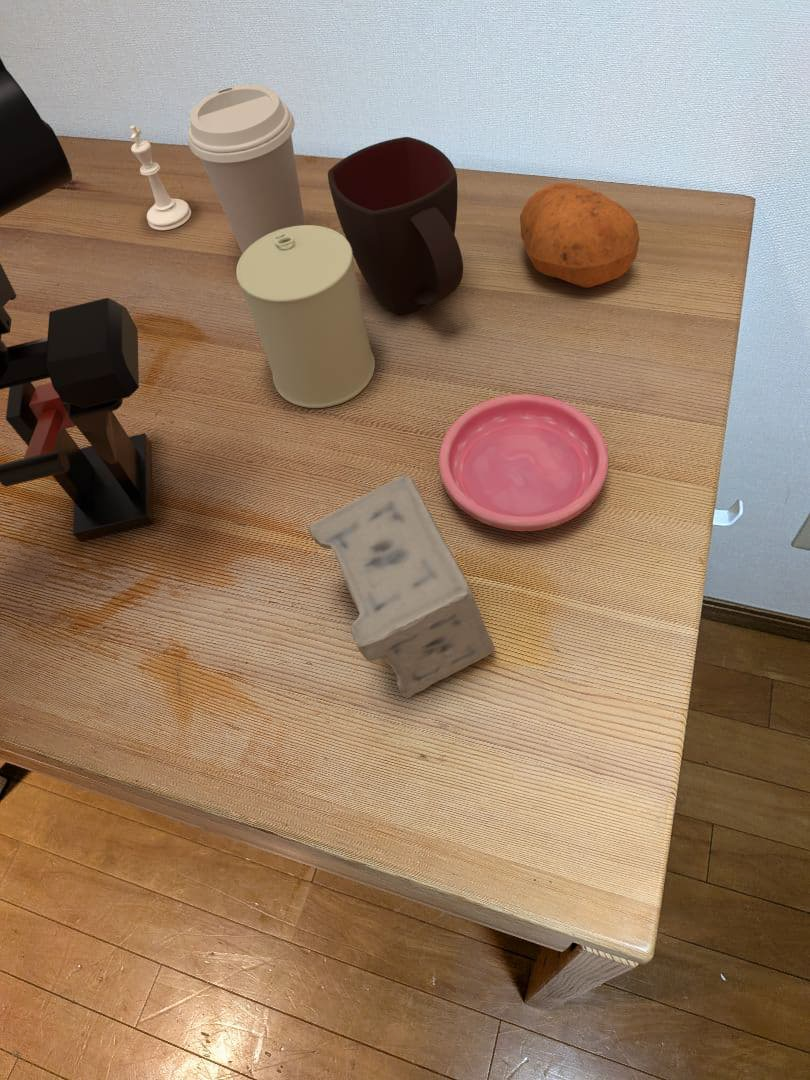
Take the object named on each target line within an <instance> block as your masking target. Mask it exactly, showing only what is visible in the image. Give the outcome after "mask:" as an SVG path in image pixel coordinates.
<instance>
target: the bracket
mask: <svg viewBox="0 0 810 1080" xmlns="http://www.w3.org/2000/svg"><path fill="white" fill-rule="evenodd" d="M35 389H36V387H35V386H34V384H33V382H29V383H25V384H21V385H17V386H13V387H9V388H8V395H7V404H6V413H5V420H6V422H8V424H9V425H10V426H11V428H12V429H13V430H14V431H15V432H16V434H17V435H18V436H19V438H21V439H22V441H23V442H24V443H25V445H26V446H27V447H28V446H29V443H30V441H31V438H32V435H33V433H34V430H35V428H36V425H37V423H38V420H37V418H36V417H35V415H34V413H33V411H32V410H31V408H30V406H29V404H30V401H31V399H32V396H33V394H34V392H35ZM63 406H64V407H65V409H66V410H67V411H68V413H69V403H66V402H63ZM110 417H111V423H112V429H113V434H114V440H115V446H116V453H117V462H116V463H115V464H109V463H108V462H107V461H106V460H105V459H103V458H102V457H101V456H100V455H99V454H98V452H97V451H96V450H95V449H94V447H93V446H92V445H91V446H90V445H89V446H86V447H81V448H80V447H79V446H78V444H77V442H76V441H75V440H74V439H73V437H72V436H71V434H70V433H69V432H68V431H67V428H66V429H62V430H59V433H58V436H57V439H56V442H55V445H54V448H53V451H58V450H62V451H63V452H64V453H65V454H66V456H67V458H68V461H69V471H68V472H65V473H61V474H57V475H53V476H52V477H53V479H54V480H55V482H56V483H58V485H59V486H60V487H61V489H62V490H63V491H64V492H65V493H66V494H67V496H68V497H69V498H70V499H71V500H72V501H73V517H72V518H73V522H72V535H73V536H74V537H75V538H76V539H77V541H78V542H84V541H89V540H92V539H93V540H94V539H96V538H101V537H105V536H108V535H113V534H117V533H121V532H124V531H129V530H132V529H133V530H134V529H137V528H140V527H141V528H142V527H145V526H151V525H153V524H154V513H153V512H154V511H153V510H154V509H153V482H152V480H153V478H152V450H151V445H152V444H151V441H150V439H149V437H148V435H147V434H146V433H145V432H143V433H140V434H135V435H132V436H129V435H128V434H127V432H126V431H125V429H124V428H123V426H122V424H121V423H120V421H119V420H118V418H117V416H116V415H115V413H114V411H111V412H110ZM53 451H52V452H53Z"/></svg>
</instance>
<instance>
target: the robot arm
mask: <svg viewBox="0 0 810 1080" xmlns="http://www.w3.org/2000/svg"><path fill="white" fill-rule="evenodd" d="M71 181H73V173H72V169H71V165H70V163H69V160H68V158H67V156H66V153H65V150H64V149H63V147H62V144H61V143H60V141H59V139H58V137H57V135H56V133H55V131H54V129H53V128H52V127H51V125H50V124H49V123H47V122H46V121H45V120H43V118H42V117H41V115H40V114H39V113H38V111H37V109H36V108H35V106H34V104H33V103H32V101H31V99H30V98H29V97H28V95H27V94H26V92H25V91H24V90H23V89H22V87H21V85H20V84H19V83H18V81H16V79H15V78H14V76H13V75H12V74H11V73H10V72H9V70H8V69H7V67H6V65H5V64H4V62H3V60H2V58H1V57H0V218H2V217H4V216H6V215H7V214H10V213H12V212H14V211H15V210H17V209H19V208H21V207H23V206H25V205H28V204H29V203H31V202H33V201H36V200H37V199H39V198H41V197H43V196H45V195H46V194H49V193H51V192H52V191H54V190H56V189H59V188H60V187H62V186H64V185H66V184H68V183H71ZM16 298H17V294H16V292H15V290H14V288H13V286H12V283H11V282H10V279H9V277H8V275H7V273H6V272H5V269H4V267H3V266H2V263H1V262H0V390H4V389H9V387H13V386H17V385H21V384H25V383H29V382H31V383H34V382H38V381H42V380H45V379H50V383H52V385H53V388H54V389H55V391H56V392H57V394H58V395H59V396H60V398H61V399H62V401H63V402H66V403H69V418H70V419H71V420H72V422H73V423H74V424H75V427H76V428H77V429H78V430H79V432H80V433H81V434H82V435H83V436H84V438H85V439H86V441H88V443H89V444H90V445H91V446H93V447H94V449H95V450H96V451H97V452H98V454H99V455H100V456H101V457H102V458H103V459H105V460H106V461H107V462H108V463H109V464H115V463H116V462H117V453H116V446H115V440H114V434H113V429H112V423H111V417H110V412H111V411H112V412H115V411H116V410H118V409H120V408H121V406H122V405H123V401H124V399H128V398H130V397H131V396H132V395H133V394H134V393H135V392H137V390H138V389H139V388H140V379H139V378H140V375H139V373H140V371H139V333H138V332H139V331H138V327H137V325H136V324H135V322H134V320H133V318H132V315H131V314H130V312H129V310H128V308H127V307H126V306H124V305H123V304H121V303H119V302H118V301H116V300H114V299H111V298H109V297H105V298H102V299H101V298H100V299H96V300H93V301H88V302H84V303H80V304H76V305H72V306H67V307H63V308H59V309H56V310H50V311H49V315H48V326H47V327H48V330H47V337H44V338H39V339H35V340H31V341H27V342H22V343H19V344H15V345H10V346H7V345H6V344H5V343H4V341H3V340H2V335H6V334H9V333H10V332H11V328H12V322H13V321H12V317H11V316H10V314H9V313H8V312H7V310H6V309H5V306H6V305H7V304H8V302H9V301H14V300H16Z"/></svg>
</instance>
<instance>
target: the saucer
mask: <svg viewBox="0 0 810 1080" xmlns="http://www.w3.org/2000/svg"><path fill="white" fill-rule="evenodd" d="M438 469H439V474H440V475H439V476H440V479H441V482H442V485H443V487H444V489H445V491H446V493H447V494H448V496H449V497H450V499H451V500H452V501H453V503H454V504H455V505H456V506H457V507H458V508H459V509H460V510H462V511H463V512H464V513H465V514H466V515H468V516H470V517H471V518H473V519H475V520H476V521H478V522H481V523H482V524H484V525H487V526H490V527H493V528H496V529H502V530H507V531H515V532H532V531H541V530H545V529H551V528H554V527H558V526H559V525H562V524H564V523H567V522H568V521H570V520H572V519H575V517H577V516H579V515H580V514H581V513H583V512H584V511H585V510H587V509H588V508H589V507H590V506H591V505H592V503H593V502H594V501H595V500H596V499H597V497H598V496H599V494H600V493H601V491H602V488H603V487H604V485H605V482H606V478H607V475H608V470H609V452H608V446H607V443H606V439H605V438H604V435H603V434H602V431H600V429H599V427H598V425H597V424H595V422H594V421H593V420H592V419H591V418H590V417H589V416H588V415H587V414H586V413H584V412H583V411H581V410H580V409H578V408H577V407H575V406H573V405H571V404H569V403H567V402H566V401H563V400H559V399H557V398H554V397H549V396H546V395H539V394H529V393H517V394H516V393H515V394H508V395H502V396H497V397H494V398H491V399H487V400H485V401H482V402H480V403H477V404H476V405H474V406H473V407H471V408H469V409H468V410H466V411H465V412H464V413H462V415H460V416H459V417H458V418H457V419H456V420H455V421H454V422H453V423H452V425H451V426H450V427H449V428H448V430H447V431H446V433H445V435H444V436H443V439H442V442H441V444H440V448H439V452H438Z"/></svg>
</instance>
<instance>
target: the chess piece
mask: <svg viewBox="0 0 810 1080" xmlns="http://www.w3.org/2000/svg"><path fill="white" fill-rule="evenodd" d="M129 130H130V132H131V136H130V140H131V143H133V144H132V145H131V148H130V150H131V152H132V154H133V155H134V156H135V157H136V158H137V159H138V161H139V162H140V164H142V165H141V166H140V168H139V173H140V174H141V175H142V176H146V177H147V178H148V181H149V185H150V186H151V191H152V194H153V198H154V203H153V205H152V206H151V207H150V208H149V209H148V211H147V213H146V220H147V224H148V225H149V227H150V228H151V229H153V230H156V231H170V230H173V229H176V228H178V227H180V226H183V225H184V224H185V223H187V221H188V220H190V218H191V216H192V210H191V208H190V206H189V204H188V203H187V201H185V200H183V199H180V198H173V197H171V196H170V195H169V193H168V192H167V190H166V188H165V186H164V185H163V183H162V181H161V179H160V177H159V175H158V172H159V171H160V170H161V166H160V165H159V163H158V162H156V161H153V156H152V146H151V143H150V142H149V141H147V140H142V138H141V137H140V136H141V134H142V131H141V128H137V127H136V125H130V126H129Z"/></svg>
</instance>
